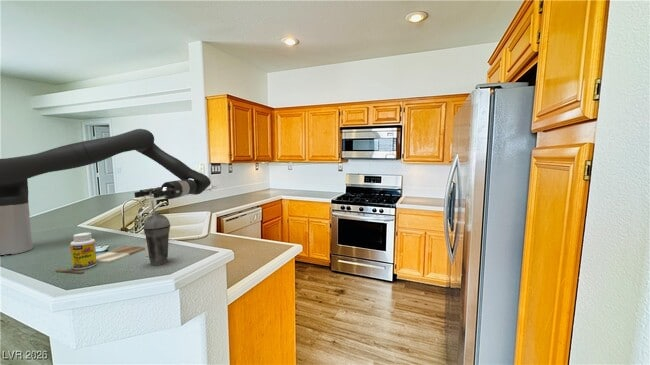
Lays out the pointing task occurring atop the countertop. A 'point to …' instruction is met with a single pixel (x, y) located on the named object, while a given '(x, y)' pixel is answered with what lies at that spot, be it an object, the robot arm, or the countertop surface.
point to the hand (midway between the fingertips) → (144, 195)
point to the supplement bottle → (83, 251)
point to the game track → (110, 256)
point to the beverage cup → (157, 237)
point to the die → (146, 250)
